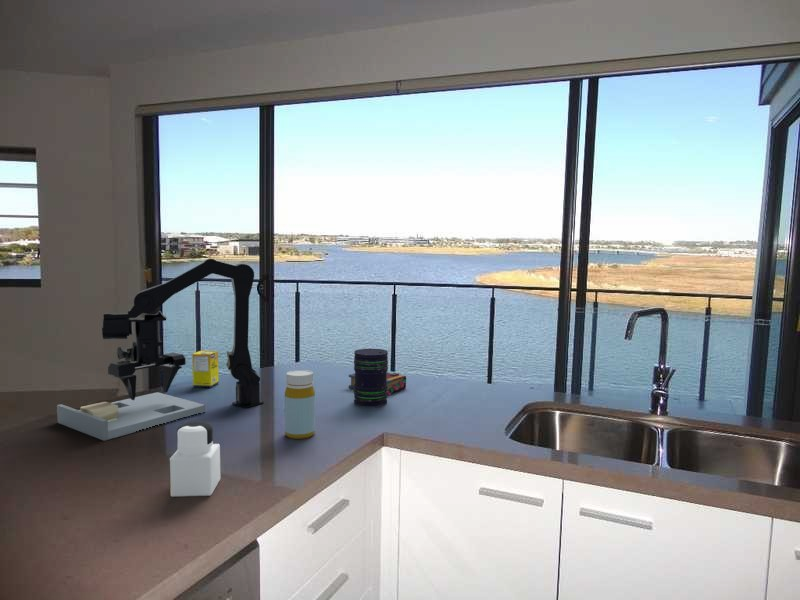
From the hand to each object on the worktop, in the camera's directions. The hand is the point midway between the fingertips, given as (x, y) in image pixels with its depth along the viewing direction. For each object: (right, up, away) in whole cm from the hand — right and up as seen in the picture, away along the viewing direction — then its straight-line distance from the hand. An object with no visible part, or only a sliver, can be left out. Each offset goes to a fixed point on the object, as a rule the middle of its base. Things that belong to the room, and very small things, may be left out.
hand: (149, 396), depth 143 cm
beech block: (-7, -4, -11) cm, 13 cm away
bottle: (+43, -7, -15) cm, 46 cm away
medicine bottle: (+29, -9, -44) cm, 53 cm away
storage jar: (+58, -4, +13) cm, 60 cm away
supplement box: (+4, -2, +30) cm, 30 cm away
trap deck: (-2, -5, -3) cm, 6 cm away
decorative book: (+60, -3, +30) cm, 67 cm away
